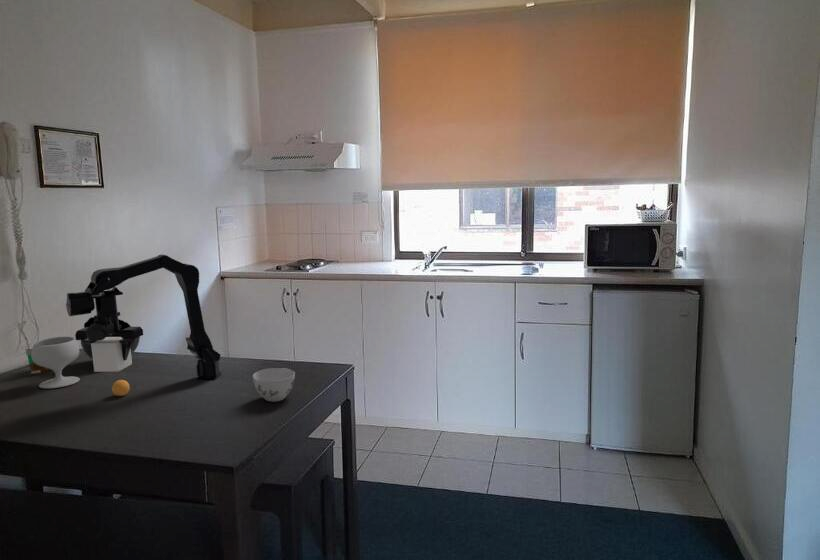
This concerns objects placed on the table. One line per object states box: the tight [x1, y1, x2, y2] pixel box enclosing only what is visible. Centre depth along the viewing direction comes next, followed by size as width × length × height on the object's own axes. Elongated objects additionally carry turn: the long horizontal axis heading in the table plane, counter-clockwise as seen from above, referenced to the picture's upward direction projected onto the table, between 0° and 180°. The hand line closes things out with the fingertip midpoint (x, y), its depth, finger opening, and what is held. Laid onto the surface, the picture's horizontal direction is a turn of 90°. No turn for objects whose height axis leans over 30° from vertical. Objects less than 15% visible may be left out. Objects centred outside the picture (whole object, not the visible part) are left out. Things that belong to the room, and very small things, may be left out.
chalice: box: [31, 336, 81, 389], centre depth 201 cm, size 14×14×15 cm
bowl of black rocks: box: [80, 314, 141, 360], centre depth 224 cm, size 20×20×19 cm
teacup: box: [252, 367, 296, 402], centre depth 182 cm, size 15×12×8 cm
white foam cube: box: [91, 337, 133, 373], centre depth 183 cm, size 8×8×9 cm
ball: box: [111, 379, 130, 397], centre depth 188 cm, size 5×5×5 cm
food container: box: [25, 348, 54, 376], centre depth 216 cm, size 12×6×10 cm, turn 179°
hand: (112, 360), depth 183 cm, fingers closed on white foam cube, 8 cm apart
